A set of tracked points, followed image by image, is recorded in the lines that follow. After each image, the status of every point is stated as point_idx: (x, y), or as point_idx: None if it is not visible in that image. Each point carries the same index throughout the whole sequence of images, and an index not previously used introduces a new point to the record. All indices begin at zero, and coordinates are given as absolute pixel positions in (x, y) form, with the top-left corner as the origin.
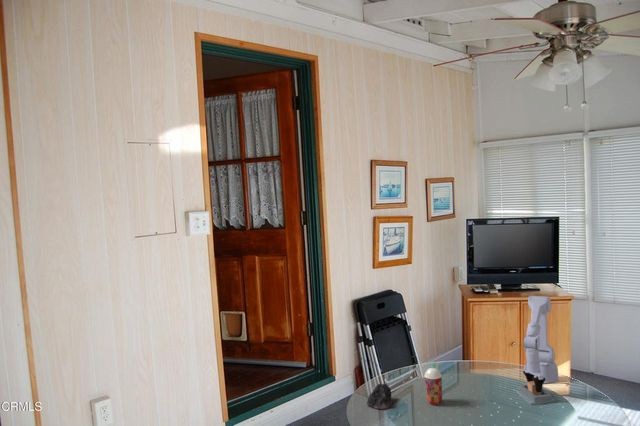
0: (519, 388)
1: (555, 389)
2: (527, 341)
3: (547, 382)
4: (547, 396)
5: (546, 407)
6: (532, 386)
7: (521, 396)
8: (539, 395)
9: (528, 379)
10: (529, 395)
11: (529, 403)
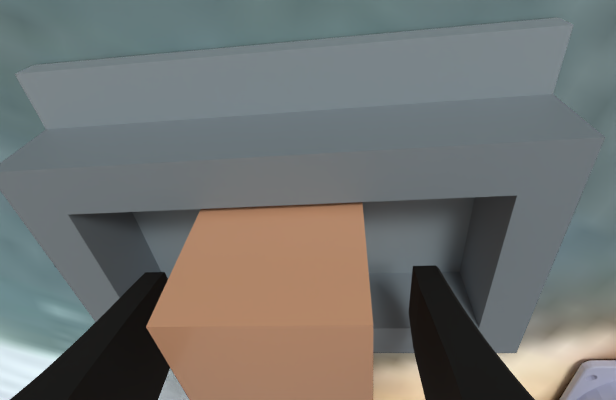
0: (564, 107)
1: (416, 382)
2: None
3: (567, 395)
4: (98, 313)
5: (6, 204)
6: (161, 313)
7: (342, 37)
8: (91, 258)
9: (451, 387)
10: (170, 145)
11: (76, 61)
